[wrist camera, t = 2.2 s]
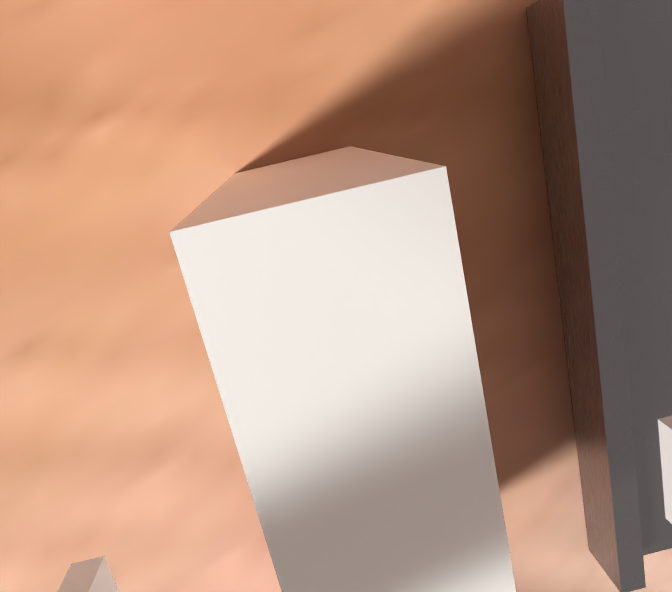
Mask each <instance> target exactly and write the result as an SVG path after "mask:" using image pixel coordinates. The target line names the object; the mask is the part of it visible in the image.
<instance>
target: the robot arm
mask: <svg viewBox="0 0 672 592" xmlns="http://www.w3.org/2000/svg"><path fill="white" fill-rule="evenodd" d="M658 429H659V442H660V454H661V467H662V480H663V493H664V506H665V518H666V519H667V520H668V521H669V522H670V523H671V524H672V416H668V417H664V418H660V419H658ZM57 592H119V591H118V588H117V586H116V583H115V581H114V579H113V576H112V574H111V571H110V569H109V566H108V564H107V561H106V559H105V556H102V557H98V558H94V559H90V560H86V561H82V562H78V563H74V564H71V566H70V568H69V570H68V572H67V574H66V576H65V578H64V580H63V582H62V584H61V586H60V587H59V589H58V591H57Z"/></svg>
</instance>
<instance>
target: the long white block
mask: <svg viewBox="0 0 672 592" xmlns="http://www.w3.org/2000/svg"><path fill="white" fill-rule="evenodd" d="M170 235H171V239H172V242H173V245H174V248H175V251H176V255H177V258H178V261H179V264H180V267H181V271H182V274H183V277H184V280H185V283H186V287H187V290H188V293H189V296H190V299H191V303H192V306H193V309H194V312H195V315H196V319H197V322H198V325H199V328H200V331H201V334H202V338H203V341H204V344H205V347H206V350H207V354H208V357H209V360H210V363H211V366H212V370H213V373H214V376H215V379H216V382H217V386H218V389H219V392H220V395H221V398H222V402H223V405H224V408H225V411H226V414H227V418H228V421H229V424H230V427H231V430H232V434H233V437H234V440H235V443H236V446H237V450H238V453H239V456H240V459H241V462H242V466H243V469H244V472H245V475H246V478H247V481H248V485H249V488H250V491H251V494H252V497H253V501H254V504H255V507H256V510H257V513H258V517H259V520H260V523H261V526H262V529H263V533H264V536H265V539H266V542H267V545H268V549H269V552H270V555H271V558H272V561H273V565H274V568H275V571H276V574H277V577H278V581H279V584H280V587H281V590H282V592H516V588H515V582H514V576H513V570H512V563H511V557H510V551H509V545H508V539H507V533H506V527H505V521H504V515H503V509H502V503H501V497H500V491H499V485H498V479H497V473H496V466H495V460H494V454H493V448H492V442H491V436H490V430H489V424H488V418H487V412H486V406H485V400H484V394H483V388H482V382H481V376H480V369H479V363H478V357H477V351H476V345H475V339H474V333H473V327H472V321H471V315H470V309H469V303H468V297H467V291H466V285H465V278H464V272H463V266H462V260H461V254H460V248H459V242H458V236H457V230H456V224H455V218H454V212H453V206H452V200H451V194H450V188H449V181H448V175H447V169H446V166H443V165H438V164H433V163H428V162H423V161H419V160H414V159H409V158H404V157H399V156H395V155H390V154H385V153H380V152H375V151H371V150H366V149H361V148H356V147H351V146H349V147H344V148H340V149H336V150H332V151H327V152H323V153H319V154H315V155H310V156H306V157H302V158H298V159H293V160H289V161H285V162H281V163H277V164H272V165H268V166H264V167H260V168H255V169H251V170H247V171H243V172H238V173H235V174H234V175H233V176H231V177H230V178H229V179H228V180H227V181H226V182H225V183H224V184H223V185H221V186H220V187H219V188H218V189H217V190H216V191H215V192H214V193H212V194H211V195H210V196H209V197H208V198H207V199H206V200H205V201H204V202H202V203H201V204H200V205H199V206H198V207H197V208H196V209H195V210H194V211H192V212H191V213H190V214H189V215H188V216H187V217H186V218H185V219H183V220H182V221H181V222H180V223H179V224H178V225H177V226H176V227H175V228H173V229H172V230H171V231H170Z"/></svg>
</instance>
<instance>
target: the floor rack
mask: <svg viewBox="0 0 672 592" xmlns="http://www.w3.org/2000/svg"><path fill="white" fill-rule="evenodd" d="M526 9H527V18H528V26H529V35H530V43H531V52H532V61H533V69H534V78H535V87H536V95H537V104H538V113H539V121H540V130H541V139H542V147H543V156H544V165H545V173H546V182H547V191H548V199H549V208H550V217H551V225H552V234H553V243H554V251H555V260H556V269H557V277H558V286H559V295H560V303H561V312H562V320H563V329H564V338H565V346H566V355H567V364H568V372H569V381H570V390H571V398H572V407H573V416H574V424H575V433H576V442H577V450H578V459H579V468H580V476H581V485H582V494H583V502H584V511H585V520H586V528H587V537H588V546H589V550H590V552H591V553H592V554H593V556H594V557H595V559H596V560H597V561H598V563H599V564H600V565H601V567H602V568H603V569H604V571H605V572H606V573H607V575H608V576H609V578H610V579H611V580H612V582H613V583H614V584H615V586H616V587H617V588H618V590H619V591H620V592H630V591H633V590H637V589H641V588H645V587H646V586H645V574H644V562H643V555H647V554H650V553H654V552H658V551H662V550H666V549H670V548H672V524H671V523H670V522H669V521H668V520H667V519H666V518H665V506H664V493H663V480H662V467H661V454H660V442H659V429H658V419H660V418H664V417H668V416H672V0H540V1H538V2H536V3H535V4H533V5H531V6H529V7H527V8H526Z"/></svg>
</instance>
